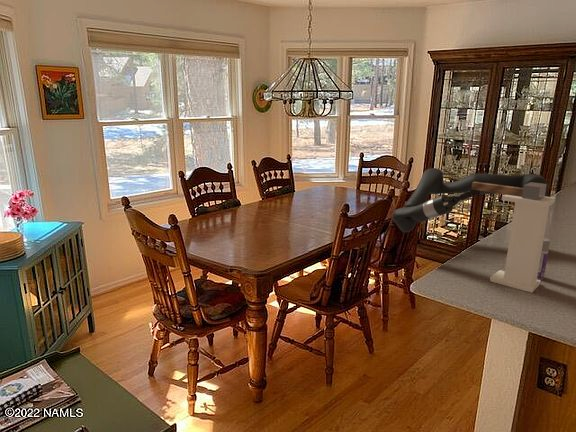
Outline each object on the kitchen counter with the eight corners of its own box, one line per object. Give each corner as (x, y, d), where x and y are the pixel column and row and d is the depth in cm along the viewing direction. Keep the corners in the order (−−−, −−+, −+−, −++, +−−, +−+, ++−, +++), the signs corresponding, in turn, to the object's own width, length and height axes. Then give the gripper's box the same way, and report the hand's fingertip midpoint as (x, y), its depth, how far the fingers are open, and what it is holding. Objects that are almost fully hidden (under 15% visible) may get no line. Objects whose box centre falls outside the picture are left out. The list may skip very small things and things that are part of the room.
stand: (489, 281, 157) (502, 195, 149) (499, 273, 164) (511, 191, 156) (532, 292, 148) (547, 202, 139) (539, 284, 155) (555, 197, 146)
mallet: (468, 190, 157) (470, 178, 156) (476, 187, 163) (478, 175, 162) (538, 200, 142) (540, 187, 141) (544, 196, 148) (546, 184, 146)
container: (538, 274, 163) (545, 237, 159) (546, 279, 159) (553, 241, 155) (526, 274, 163) (533, 237, 159) (534, 279, 159) (540, 241, 155)
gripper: (425, 201, 166) (464, 185, 155) (441, 195, 176) (478, 180, 165) (433, 218, 166) (472, 204, 154) (448, 212, 176) (486, 198, 164)
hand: (475, 192), depth 160 cm, fingers open, 8 cm apart
